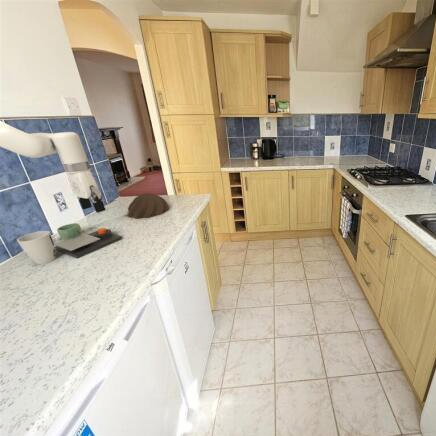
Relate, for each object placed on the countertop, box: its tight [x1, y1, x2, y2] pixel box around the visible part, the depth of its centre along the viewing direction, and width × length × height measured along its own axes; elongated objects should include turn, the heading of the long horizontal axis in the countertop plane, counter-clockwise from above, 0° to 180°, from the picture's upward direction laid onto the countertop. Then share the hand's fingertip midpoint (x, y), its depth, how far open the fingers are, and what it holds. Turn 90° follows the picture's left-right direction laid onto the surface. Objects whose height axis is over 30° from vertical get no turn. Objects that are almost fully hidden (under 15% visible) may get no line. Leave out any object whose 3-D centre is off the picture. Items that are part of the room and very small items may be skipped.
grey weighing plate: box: [54, 232, 100, 251], centre depth 94 cm, size 12×10×1 cm
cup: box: [16, 230, 57, 265], centre depth 86 cm, size 8×8×10 cm
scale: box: [54, 228, 123, 259], centre depth 98 cm, size 16×16×3 cm
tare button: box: [96, 227, 107, 234], centre depth 101 cm, size 3×3×2 cm
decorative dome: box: [127, 192, 170, 220], centre depth 128 cm, size 19×20×10 cm
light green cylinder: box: [56, 222, 84, 241], centre depth 102 cm, size 7×7×6 cm
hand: (94, 209), depth 97 cm, fingers open, 9 cm apart
